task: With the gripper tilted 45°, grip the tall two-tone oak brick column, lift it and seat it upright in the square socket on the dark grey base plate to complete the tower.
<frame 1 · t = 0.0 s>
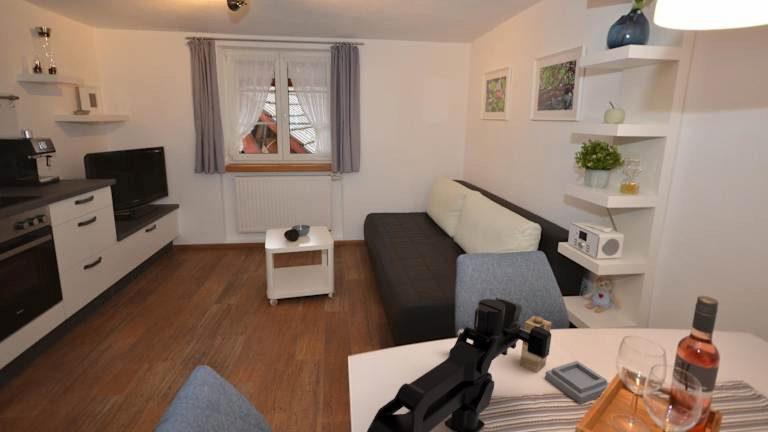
hand: (526, 319, 107), 17 cm above the table, tool horizontal, fingers open, 9 cm apart
base plate: (577, 385, 108), on the table
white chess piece: (461, 357, 119), on the table
oak brick column: (532, 365, 116), on the table
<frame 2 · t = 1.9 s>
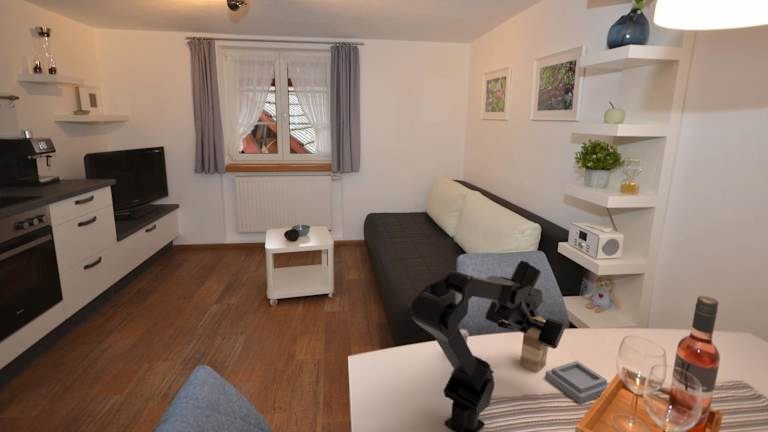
hand: (531, 334, 111), 11 cm above the table, tool tilted 45°, fingers open, 9 cm apart
nothing on the table moved.
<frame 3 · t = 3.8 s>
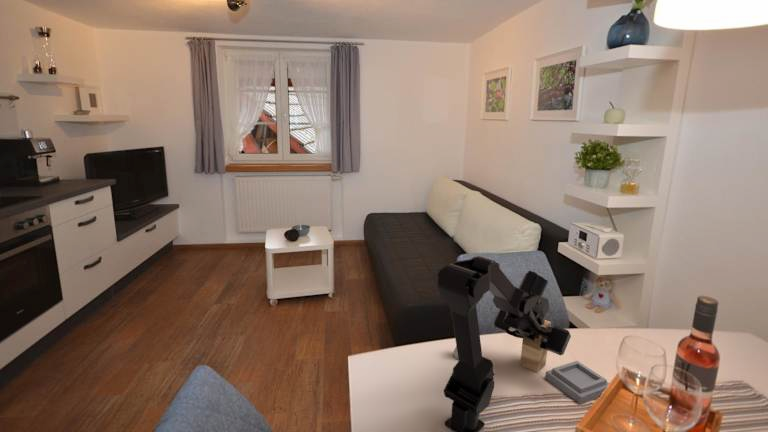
hand: (538, 341, 115), 7 cm above the table, tool tilted 45°, fingers closed on oak brick column, 5 cm apart
oak brick column: (532, 364, 116), on the table, touching gripper
everything else where it was.
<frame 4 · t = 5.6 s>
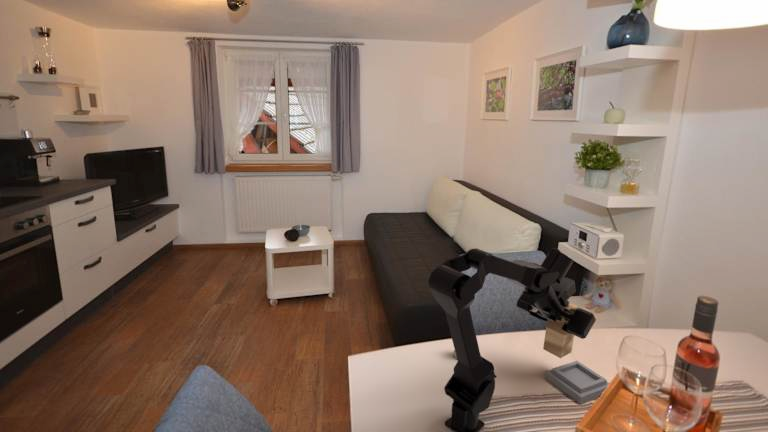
hand: (563, 326, 110), 14 cm above the table, tool tilted 45°, fingers closed on oak brick column, 5 cm apart
oak brick column: (557, 350, 111), point 7 cm above the table, touching gripper
everything else where it was.
when the fingers open (9 cm above the table, at t = 7.6 s): oak brick column stays where it is, resting on base plate.
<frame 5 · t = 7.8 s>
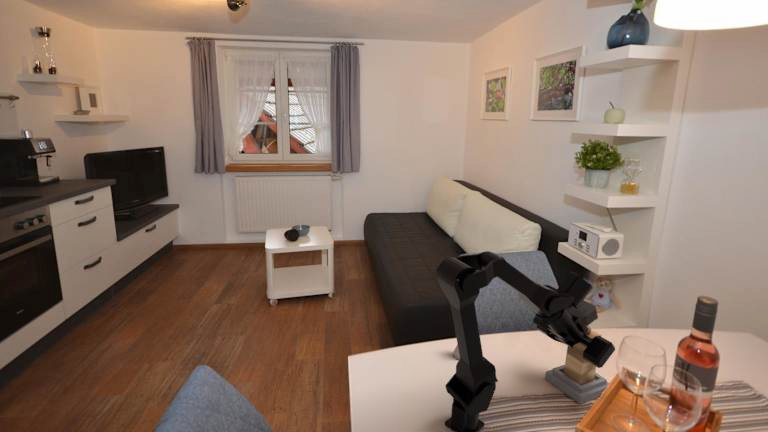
hand: (586, 352, 106), 9 cm above the table, tool tilted 45°, fingers open, 7 cm apart
oak brick column: (578, 378, 107), point 2 cm above the table, touching base plate
everything else where it was.
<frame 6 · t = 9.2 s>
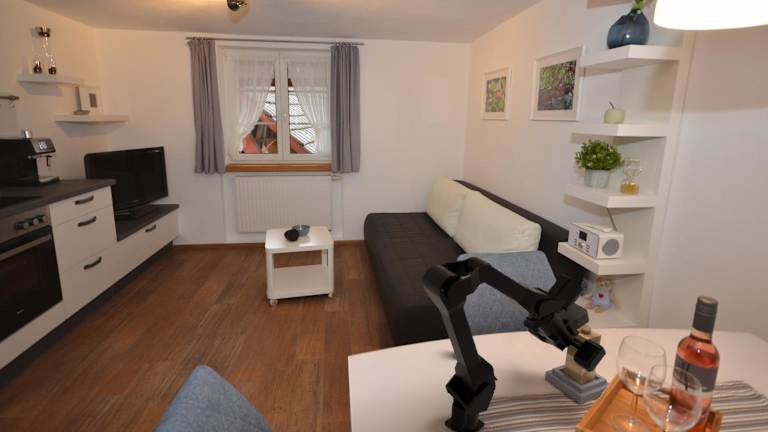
hand: (577, 356, 105), 9 cm above the table, tool tilted 45°, fingers open, 9 cm apart
nothing on the table moved.
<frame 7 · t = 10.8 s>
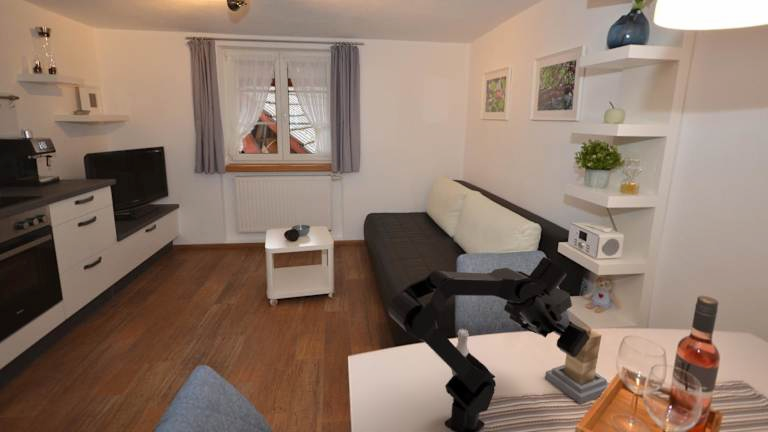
hand: (561, 343, 102), 14 cm above the table, tool tilted 45°, fingers open, 9 cm apart
nothing on the table moved.
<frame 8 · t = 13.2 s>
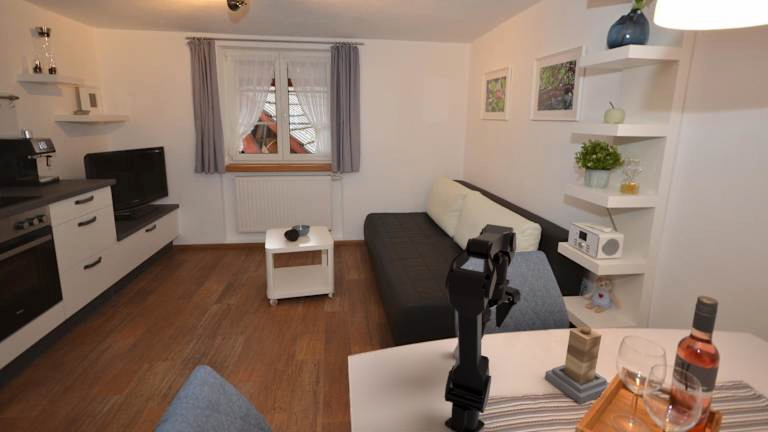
hand: (488, 333, 106), 13 cm above the table, tool pointing down, fingers open, 9 cm apart
nothing on the table moved.
at the end: oak brick column 0.1 cm off-centre on the base plate, point 2.0 cm above the base plate's base; oak brick column tilted 0°; the gripper is holding nothing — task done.
